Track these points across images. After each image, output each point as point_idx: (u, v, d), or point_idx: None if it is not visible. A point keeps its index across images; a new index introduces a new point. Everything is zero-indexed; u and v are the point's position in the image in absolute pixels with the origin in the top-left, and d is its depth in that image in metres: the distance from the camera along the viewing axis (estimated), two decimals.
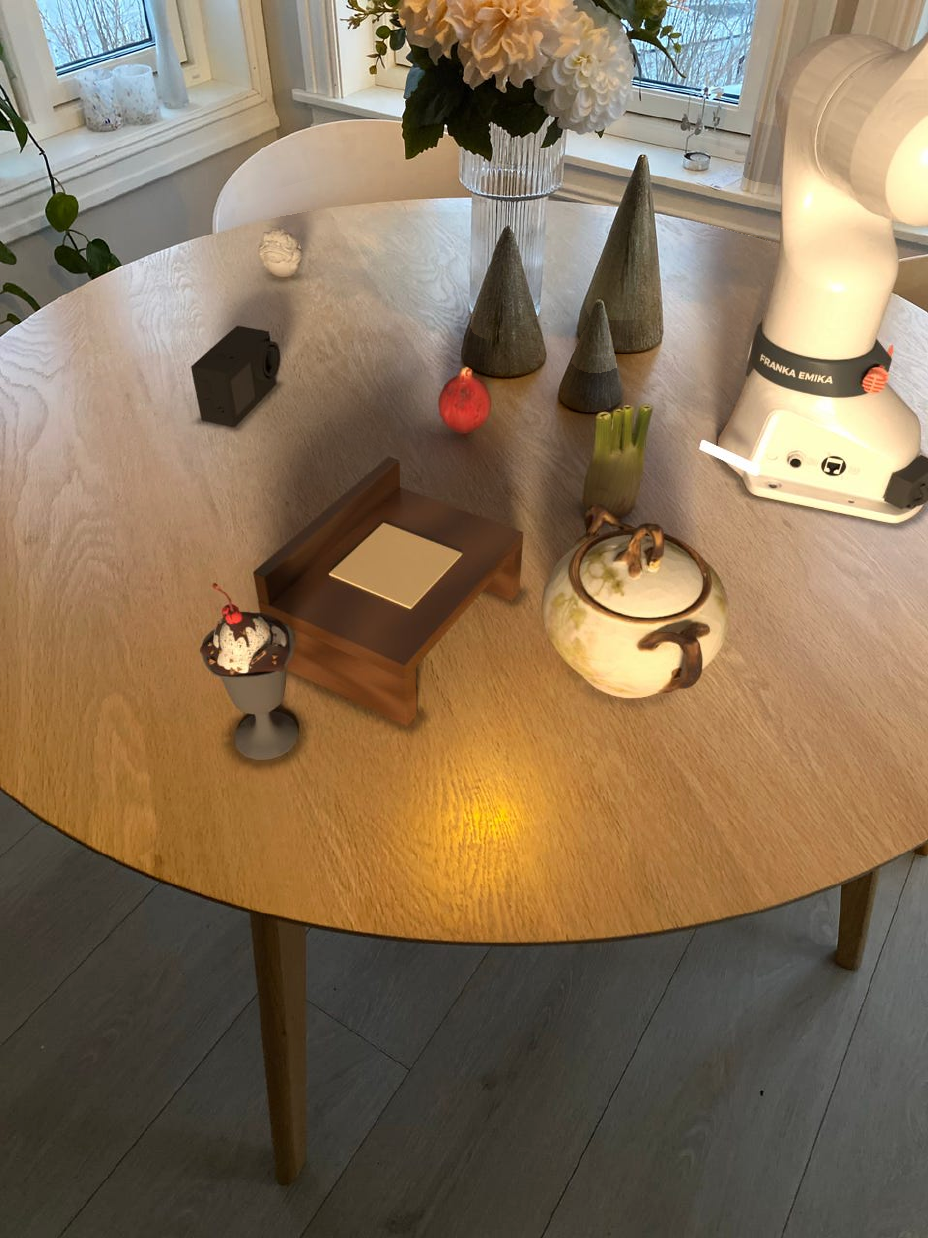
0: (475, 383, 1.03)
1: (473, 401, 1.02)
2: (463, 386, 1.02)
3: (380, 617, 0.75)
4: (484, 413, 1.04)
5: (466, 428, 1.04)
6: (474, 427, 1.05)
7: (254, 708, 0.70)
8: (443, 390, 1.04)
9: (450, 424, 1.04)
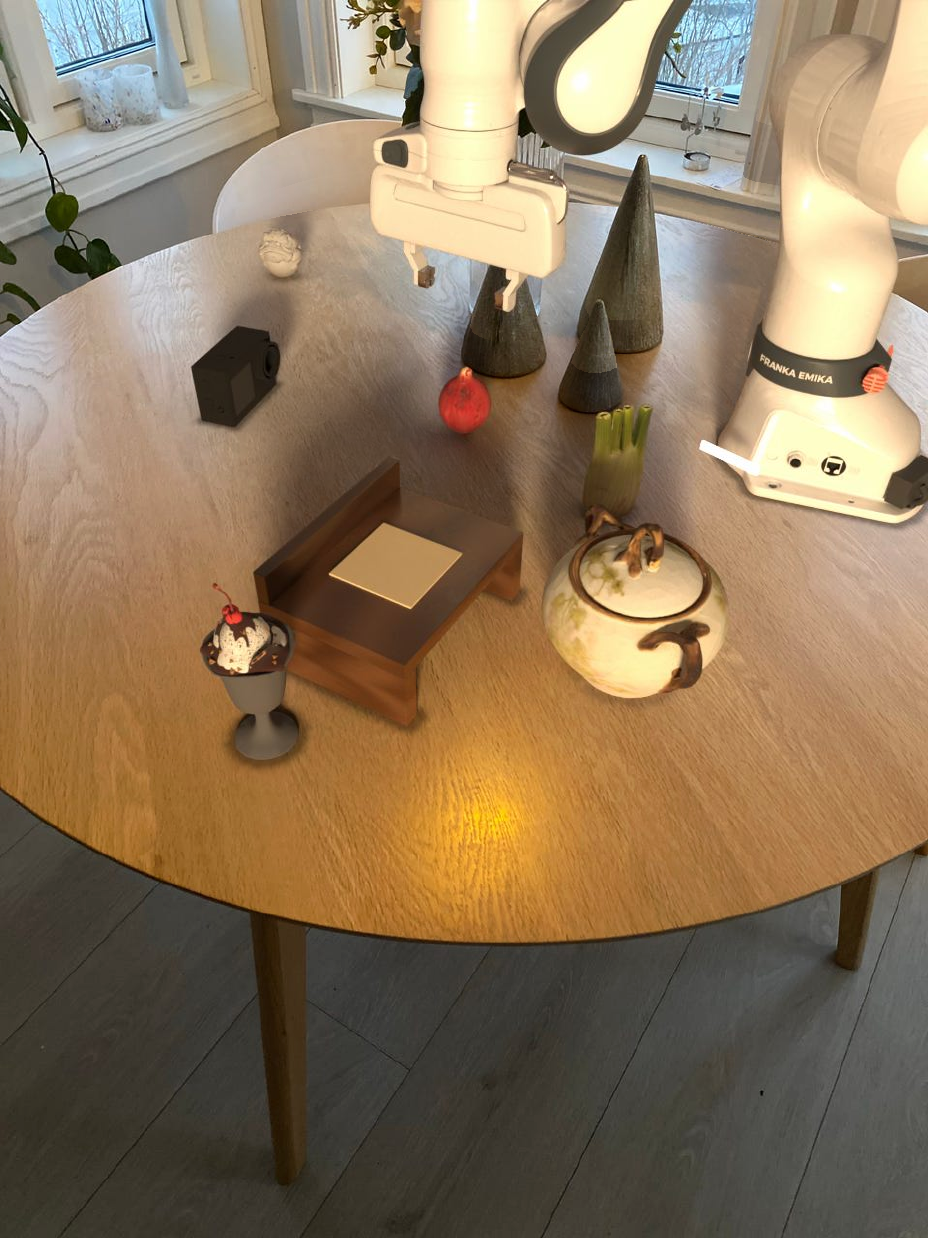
0: (475, 383, 1.03)
1: (473, 401, 1.02)
2: (463, 386, 1.02)
3: (380, 617, 0.75)
4: (484, 413, 1.04)
5: (466, 428, 1.04)
6: (474, 427, 1.05)
7: (254, 708, 0.70)
8: (443, 390, 1.04)
9: (450, 424, 1.04)
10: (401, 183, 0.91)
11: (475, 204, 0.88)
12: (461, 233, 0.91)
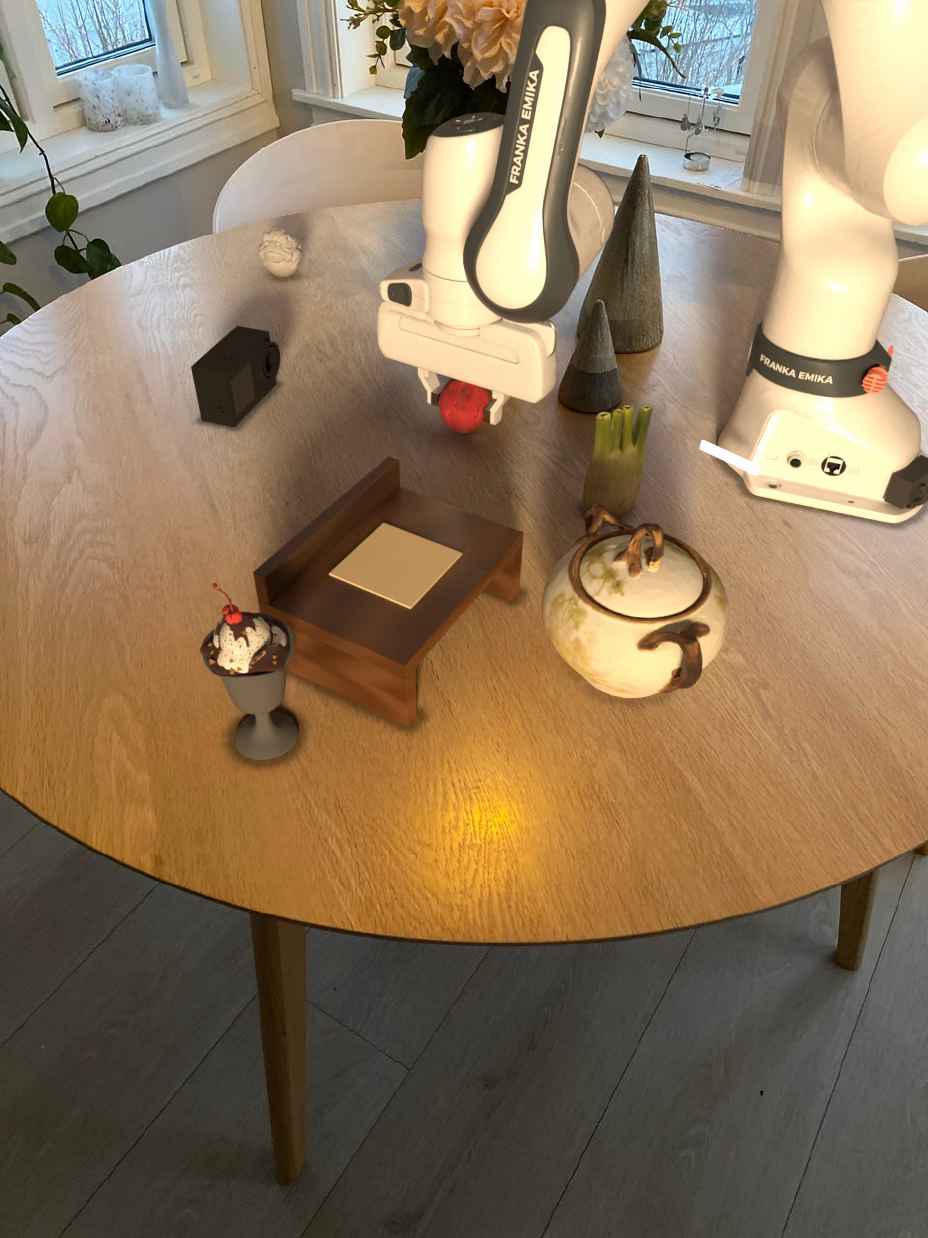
0: None
1: (473, 401, 1.02)
2: (463, 386, 1.02)
3: (380, 617, 0.75)
4: None
5: (466, 428, 1.04)
6: (474, 427, 1.05)
7: (254, 708, 0.70)
8: (443, 390, 1.04)
9: (450, 423, 1.04)
10: (405, 316, 1.00)
11: (473, 338, 0.97)
12: (460, 361, 1.00)
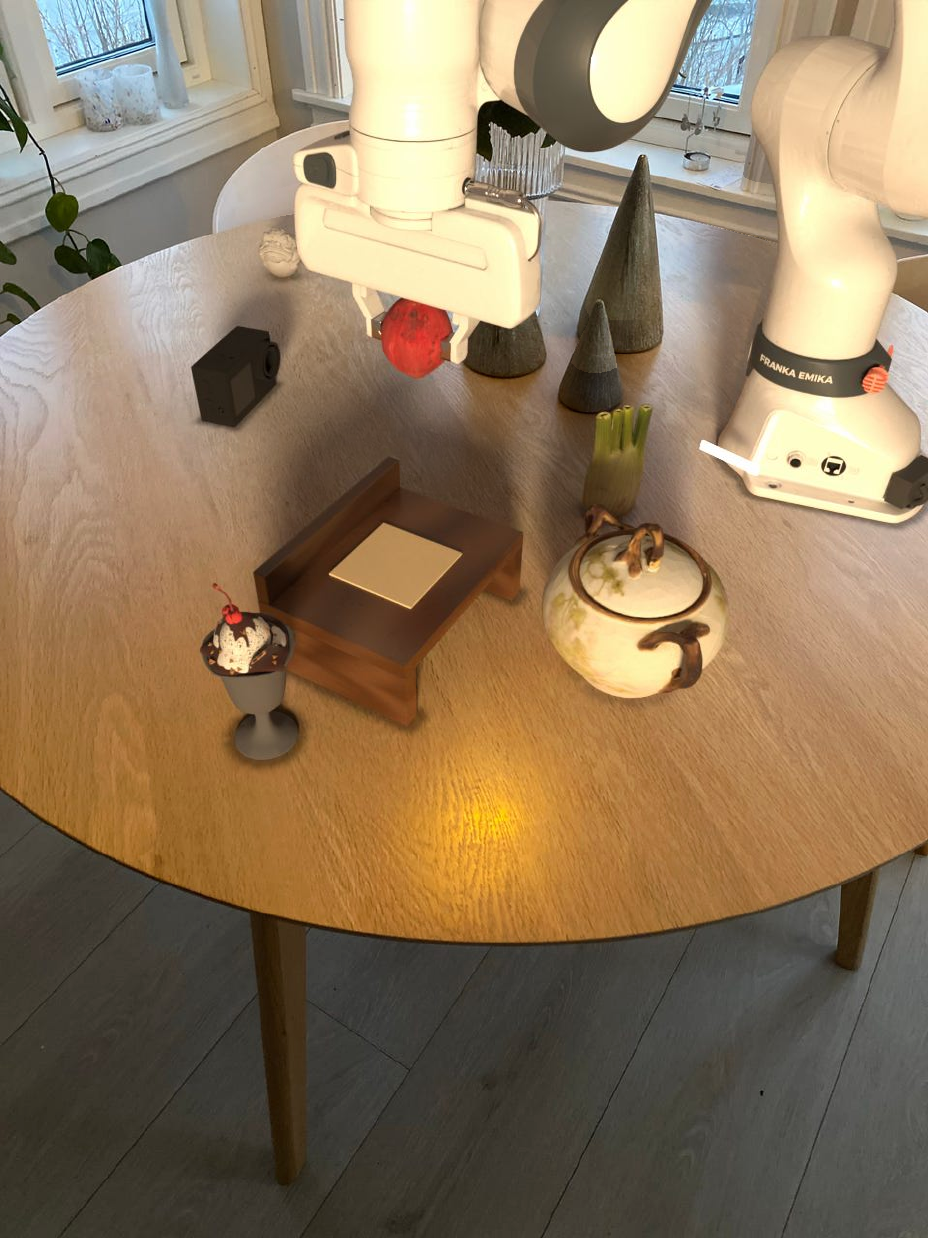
0: None
1: (427, 330, 0.74)
2: (413, 308, 0.74)
3: (380, 617, 0.75)
4: None
5: (418, 368, 0.76)
6: (429, 367, 0.76)
7: (254, 708, 0.70)
8: (386, 315, 0.75)
9: (396, 362, 0.76)
10: (331, 207, 0.71)
11: (423, 235, 0.69)
12: (407, 271, 0.71)
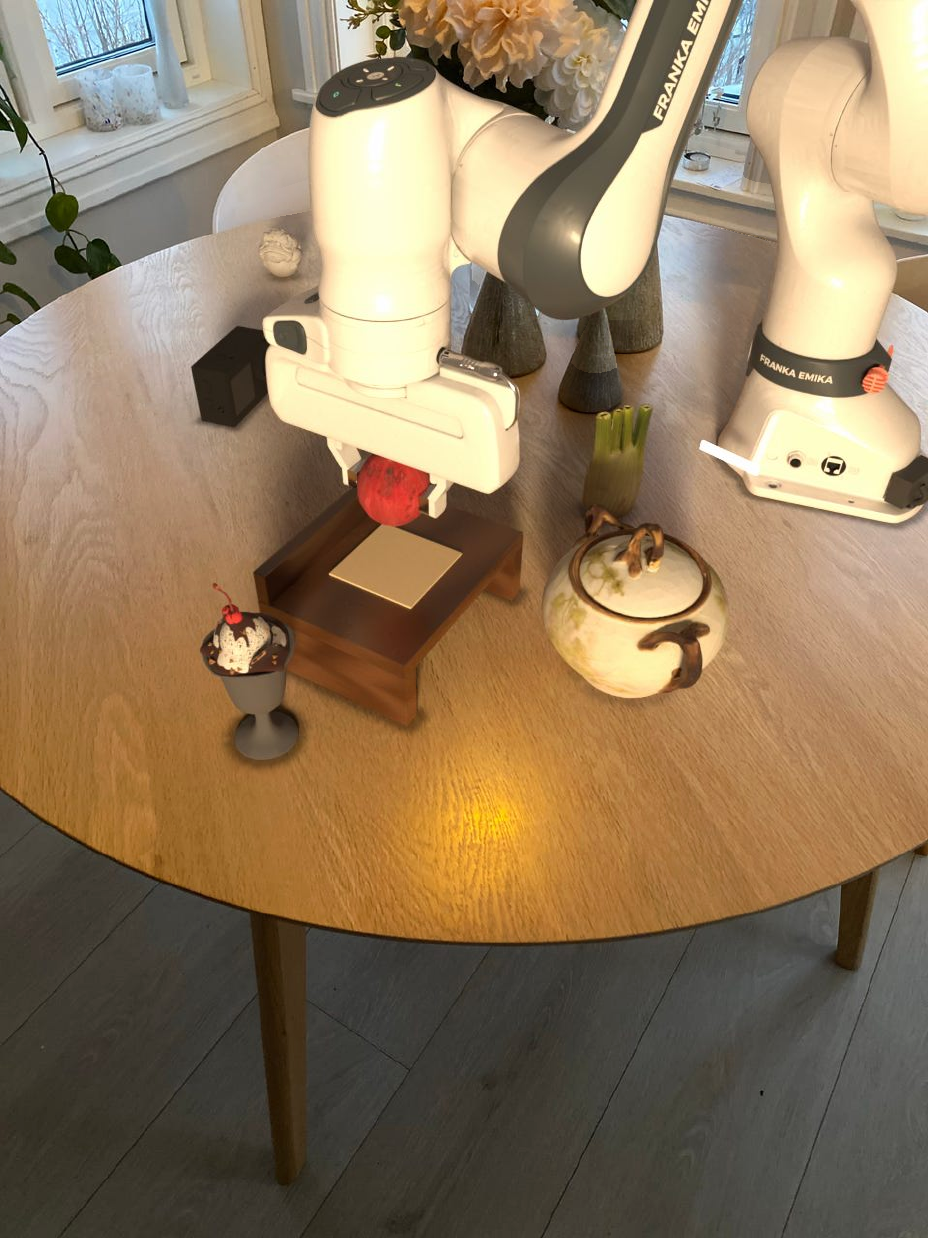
0: None
1: (404, 486, 0.72)
2: (389, 465, 0.72)
3: (380, 617, 0.75)
4: None
5: (396, 522, 0.74)
6: (407, 520, 0.74)
7: (254, 708, 0.70)
8: (362, 469, 0.73)
9: (373, 516, 0.74)
10: (303, 367, 0.69)
11: (398, 400, 0.67)
12: (382, 432, 0.69)
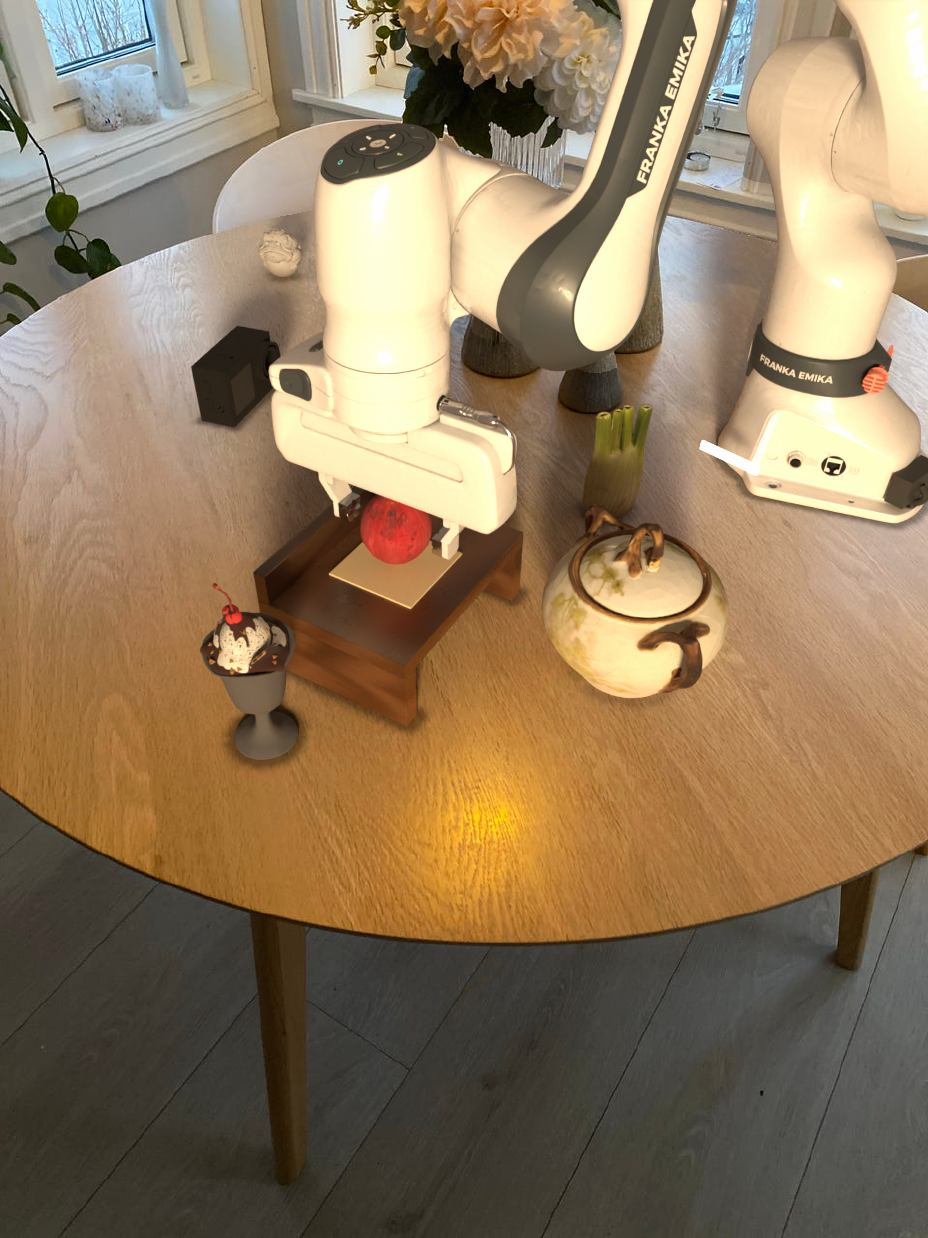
0: None
1: (405, 528, 0.75)
2: (391, 507, 0.74)
3: (380, 617, 0.75)
4: (422, 541, 0.76)
5: (398, 561, 0.76)
6: (409, 559, 0.77)
7: (254, 708, 0.70)
8: (366, 510, 0.76)
9: (376, 555, 0.76)
10: (308, 411, 0.72)
11: (399, 445, 0.69)
12: (385, 474, 0.72)
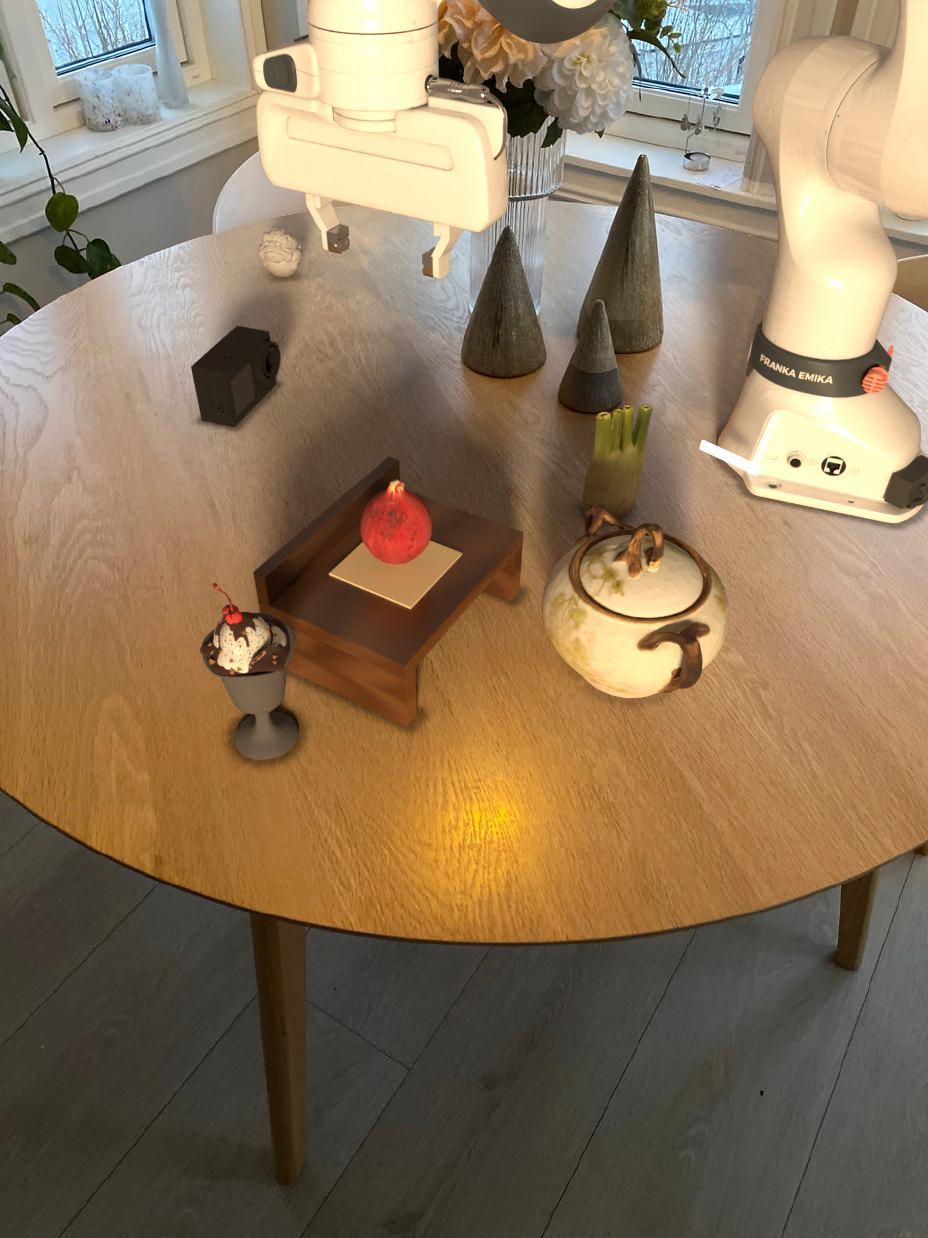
0: (409, 502, 0.75)
1: (405, 528, 0.75)
2: (391, 507, 0.74)
3: (380, 617, 0.75)
4: (422, 541, 0.76)
5: (398, 561, 0.76)
6: (409, 559, 0.77)
7: (254, 708, 0.70)
8: (366, 510, 0.76)
9: (376, 555, 0.76)
10: (294, 115, 0.70)
11: (388, 138, 0.68)
12: (373, 177, 0.70)
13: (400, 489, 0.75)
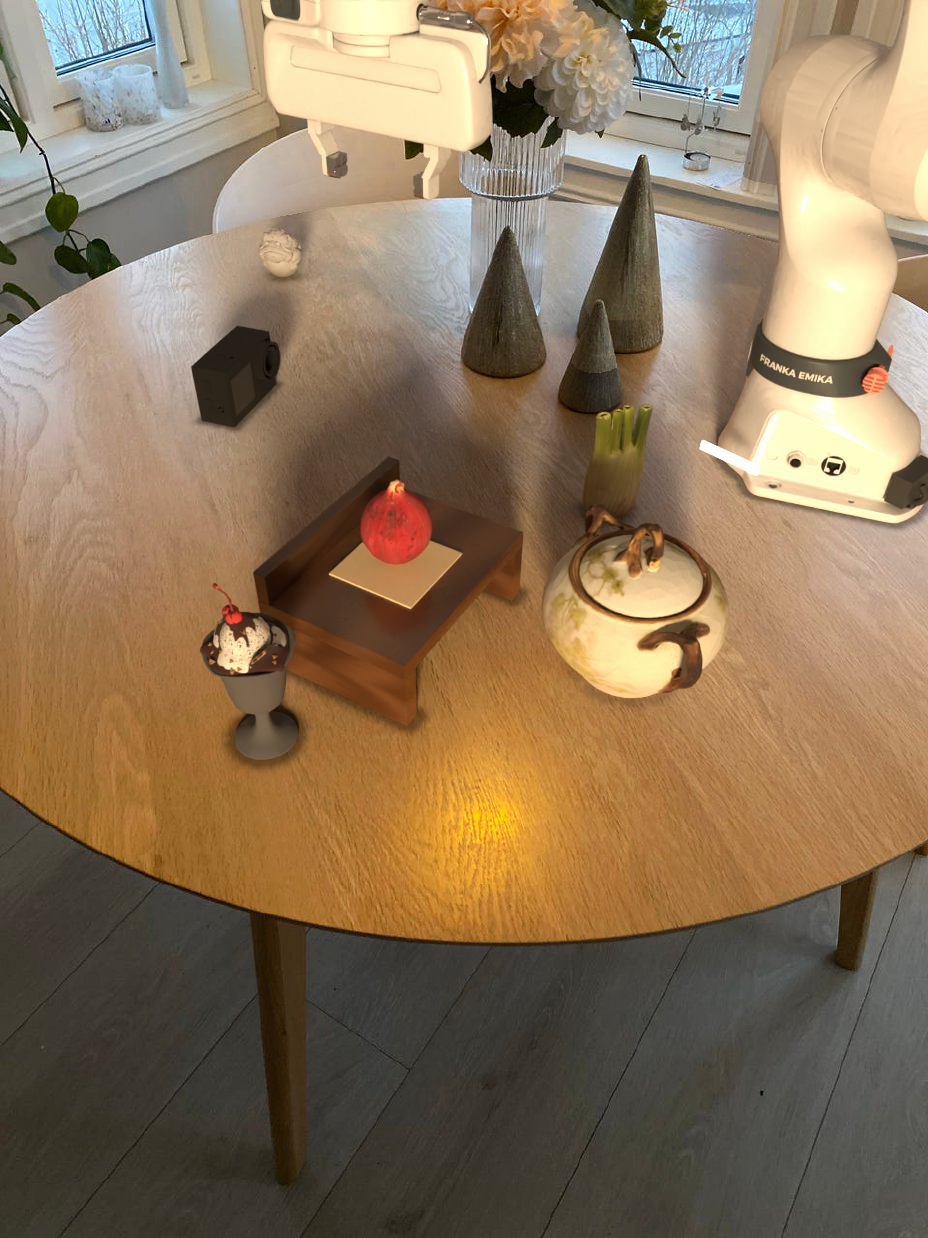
0: (409, 502, 0.75)
1: (405, 528, 0.75)
2: (391, 507, 0.74)
3: (380, 617, 0.75)
4: (422, 541, 0.76)
5: (398, 561, 0.76)
6: (409, 559, 0.77)
7: (254, 708, 0.70)
8: (366, 510, 0.76)
9: (376, 555, 0.76)
10: (297, 44, 0.77)
11: (382, 63, 0.74)
12: (369, 102, 0.76)
13: (400, 489, 0.75)
